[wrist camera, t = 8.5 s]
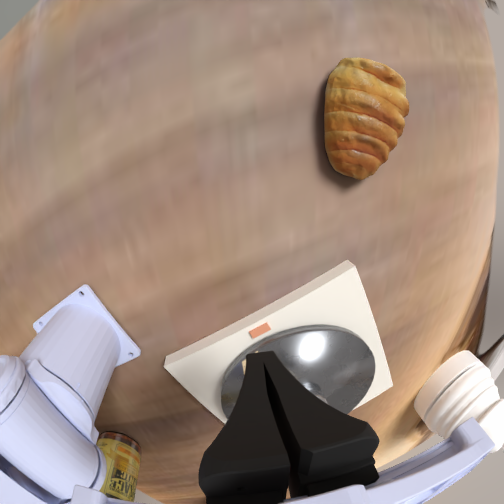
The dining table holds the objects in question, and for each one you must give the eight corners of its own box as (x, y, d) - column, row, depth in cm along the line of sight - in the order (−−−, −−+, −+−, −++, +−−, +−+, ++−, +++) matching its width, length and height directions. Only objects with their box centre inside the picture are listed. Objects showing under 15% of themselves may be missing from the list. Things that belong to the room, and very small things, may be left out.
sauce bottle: (149, 453, 28) (141, 574, 9) (112, 451, 28) (95, 561, 9) (128, 428, 26) (107, 566, 7) (89, 426, 26) (59, 548, 7)
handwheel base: (258, 442, 29) (260, 452, 27) (165, 356, 23) (163, 368, 21) (387, 378, 28) (393, 386, 26) (347, 259, 22) (356, 266, 20)
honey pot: (481, 339, 30) (548, 401, 13) (457, 393, 34) (506, 453, 17) (427, 367, 29) (499, 454, 12) (404, 421, 33) (452, 497, 16)
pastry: (376, 188, 21) (402, 194, 17) (302, 162, 20) (320, 162, 16) (397, 90, 18) (424, 82, 15) (328, 56, 17) (348, 39, 13)
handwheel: (390, 373, 25) (407, 397, 21) (283, 444, 27) (290, 470, 23) (322, 289, 20) (343, 316, 17) (186, 391, 22) (184, 424, 18)
